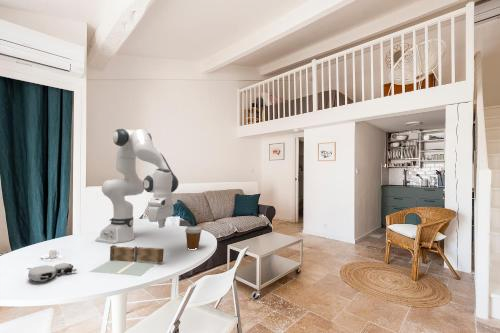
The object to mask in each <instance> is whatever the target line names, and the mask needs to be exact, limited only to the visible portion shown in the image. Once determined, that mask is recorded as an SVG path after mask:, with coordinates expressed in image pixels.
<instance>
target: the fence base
mask: <svg viewBox="0 0 500 333" xmlns="http://www.w3.org/2000/svg"><path fill="white" fill-rule="evenodd" d="M137 248H138V246H136V245H135V246H134V247H129V246H117V245H114V244H113V245H111V246H109V261H126V262H133V261H134V262H137Z"/></svg>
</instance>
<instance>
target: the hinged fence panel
mask: <svg viewBox="0 0 500 333" xmlns="http://www.w3.org/2000/svg"><path fill="white" fill-rule="evenodd" d="M164 251H165V250H164V248H158V247H143V246H137V261H148V262H158V263H160V264H161V263H163V262H164ZM158 263H157V264H158Z"/></svg>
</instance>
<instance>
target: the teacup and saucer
mask: <svg viewBox="0 0 500 333" xmlns="http://www.w3.org/2000/svg"><path fill="white" fill-rule="evenodd" d="M48 252H49V253H48V254H42V255H40V259H42V261H43V262H51V261H57V260H60V259H62V258H63V255H62V254H61V255H60V252H59V251H58V250H57V249H52V250H49V251H48ZM57 257H58V258H57Z"/></svg>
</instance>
